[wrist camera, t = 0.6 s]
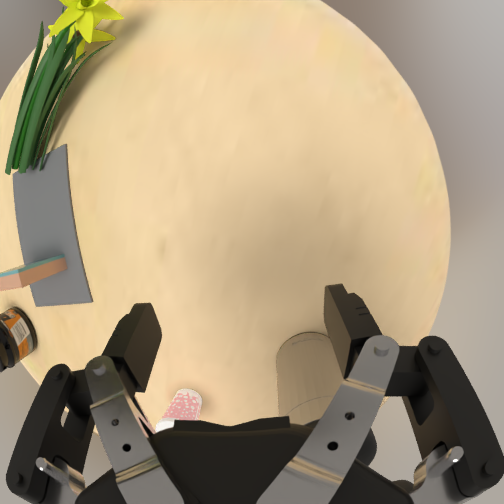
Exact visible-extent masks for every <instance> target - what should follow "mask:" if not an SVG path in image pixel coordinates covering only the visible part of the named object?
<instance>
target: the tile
mask: <svg viewBox="0 0 504 504" xmlns="http://www.w3.org/2000/svg"><path fill="white" fill-rule="evenodd" d="M66 269H68V268H67V264H66V260H65V255H64V254H62V255H58V256H53V257H49V258H45V259H41V260H37V261H33V262H30V263H27V264H24V265H21V266H18V267H15V268H13V269H10V270H7V271H4V272H1V273H0V291H3V290H10V289H16V288H23V287H25V286H27V285H30V284H32V283H34V282H37V281H39V280H41V279H44V278H46V277H49V276H51V275H54V274H56V273H59V272H61V271H64V270H66Z"/></svg>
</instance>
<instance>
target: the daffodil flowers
mask: <svg viewBox="0 0 504 504" xmlns="http://www.w3.org/2000/svg"><path fill="white" fill-rule="evenodd" d="M59 1H61V2H62V3H63V4H64V5H65V6H67V7H68V8H67V9H66V10H65V12H64V7H63V10H62V15H61V16H60V17H59V18H58V20H57V21H56V23H55V24H54V25H50V26H48V28H49V29H50V30H51V32H50V34H49V37H52V43H51V44H50V46H49V47H48V44H47V48H48V49H47V50H46V52H45V54H44V56H43V58H42V60H41V62H40V64H39V66H38V68H37V70H36V66H37V63H38V60H39V57H40V53H41V50H42V46H43V39H44V29H43V22H42V23H41V28H40V34H39V39H38V43H37V47H36V51H35V54H34V57H33V60H32V63H31V67H30V70H29V74H28V77H27V80H26V84H25V87H24V91H23V95H22V99H21V103H20V108H19V112H18V116H17V120H16V125H15V130H14V134H13V137H12V141H11V145H10V150H9V154H8V159H7V164H6V170H5V173H6V174H8V175H10V173H11V167H12V169H18V168H19V169H18V172H19V173H20V174H22V173H26V169H28V168H29V166H30V165H31V166H32V165H33V167H32V170H34V168H35V164H36V161H37V157H38V154H39V150H40V147H41V144H42V141H43V138H44V135H45V133H46V130H47V128H48V125H49V123H50V121H51V118H52V121H51V124H50V128H49V132H48V135H47V139H46V143H45V147H44V151H43V155H42V160H41V164H40V169H39V171H41V170H42V166H43V161H44V157H45V153H46V149H47V146H48V142H49V138H50V134H51V130H52V126H53V123H54V119H55V116H56V113H57V110H58V107H59V104H60V101H61V99H62V97H63V95H64V93H65V91H66V90H67V88H68V86H69V85H70V83H71V82H72V80H73V79H74V77H75V76H76V74H77V73H78V71H79V70H80V69H81V67H82V66H83V65H84V64H85V62H86V61H87V60H88V59H89V58H91V57H92V56H93V55H94V54H95V53H97V52H98V51H100V50H101V49H103V48H104V47H106V46H108V45H109V44H108V45H105V46H103V47H101V48H100V49H98V50H96V51H95V52H93V53H92V54H91V55H89V56H88V57H87V58H86V59H85V60H84V61H83V62H82V63H81V65H80V66H79V67H78V69H77V70H76V72H75V73H74V74H73V76H72V77H71V79H70V80H69V77H70V75H71V72H72V70H73V68H74V67H75V65H76V64H78V63H79V61H80V59H81V58H83V57H84V56H85V55H84V54H85V53H86V52H84V53H83V50H84V46H85V42H88V43H91V42H98V41H108V40H115V37H114V36H112V35H110V34H108V33H106V32H103V31H100V30H96V29H94V28H95V27H96V26H97V25H98V23H99V22H100V21H101V20H102V19H110V20H121V19H124V18H123V17H122V16H121V15H120V14H119V13H118V12H117V11H115V10H114V9H113V8H111V7H110V6H108V5H107V4H105V3H104V2H106V1H108V0H59ZM55 34H56V35H57V36H56V37H55ZM110 44H111V43H110ZM65 49H66V50H65ZM64 51H65V52H64ZM72 55H73V57H72V62H71V64H70V65H69V66H68V67H67V68H66V69H65V70H64V68H65V67H66V65H67V63H68V61H69V59H70V58H71V56H72ZM35 70H36V72H35ZM63 70H64V71H63ZM34 73H35V75H34ZM33 76H34V77H33ZM68 80H69V82H68ZM67 82H68V83H67ZM62 86H63V88H62ZM61 88H62V90H61ZM60 90H61V93H60V96H59V99H58V101H57V103H56V105H55V107H54V109H53V111H52V113H51V115H50V117H49V119H48V122H47V124H46V127H45V129H44V126H45V123H46V121H47V118H48V116H49V113H50V111H51V109H52V107H53V105H54V102H55V100H56V98H57V96H58V94H59V92H60ZM52 116H53V117H52ZM43 129H44V132H43V134H42V131H43ZM41 134H42V137H41ZM40 137H41V140H40ZM39 140H40V142H39ZM38 143H39V146H38ZM37 147H38V149H37ZM36 150H37V152H36ZM21 153H22V154H21ZM35 154H36V156H35ZM34 157H35V159H34ZM20 158H21V159H20ZM33 161H34V163H33ZM19 163H20V164H19Z"/></svg>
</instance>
